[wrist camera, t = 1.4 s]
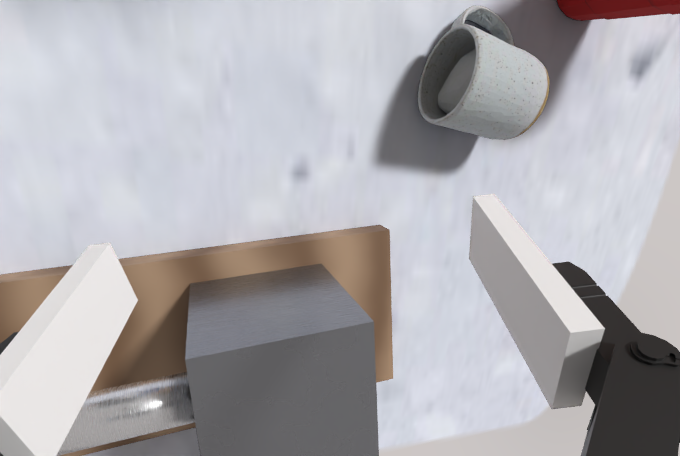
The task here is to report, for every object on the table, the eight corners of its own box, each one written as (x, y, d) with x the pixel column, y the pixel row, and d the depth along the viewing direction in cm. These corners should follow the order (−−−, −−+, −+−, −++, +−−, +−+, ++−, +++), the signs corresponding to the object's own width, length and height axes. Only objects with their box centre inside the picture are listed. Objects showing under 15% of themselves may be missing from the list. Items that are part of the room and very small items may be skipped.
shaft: (-36, 463, 26) (-102, 556, 20) (-64, 376, 24) (-144, 450, 18) (261, 393, 31) (275, 451, 25) (253, 318, 29) (266, 362, 24)
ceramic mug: (484, 143, 38) (547, 144, 31) (409, 124, 36) (459, 121, 29) (512, 26, 37) (584, 1, 30) (436, -2, 34) (495, -38, 27)
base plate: (-15, 461, 31) (-29, 482, 29) (-70, 284, 28) (-90, 295, 26) (384, 366, 40) (393, 378, 38) (379, 224, 37) (389, 229, 35)
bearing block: (207, 401, 33) (210, 522, 23) (190, 283, 31) (185, 359, 21) (328, 373, 36) (379, 469, 26) (321, 263, 34) (373, 321, 24)
